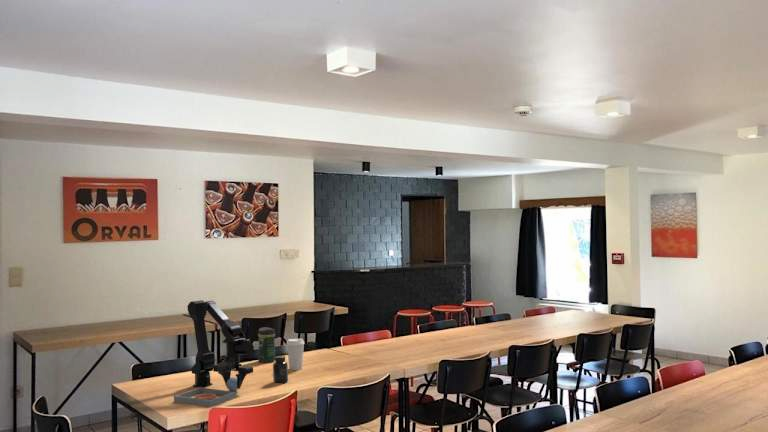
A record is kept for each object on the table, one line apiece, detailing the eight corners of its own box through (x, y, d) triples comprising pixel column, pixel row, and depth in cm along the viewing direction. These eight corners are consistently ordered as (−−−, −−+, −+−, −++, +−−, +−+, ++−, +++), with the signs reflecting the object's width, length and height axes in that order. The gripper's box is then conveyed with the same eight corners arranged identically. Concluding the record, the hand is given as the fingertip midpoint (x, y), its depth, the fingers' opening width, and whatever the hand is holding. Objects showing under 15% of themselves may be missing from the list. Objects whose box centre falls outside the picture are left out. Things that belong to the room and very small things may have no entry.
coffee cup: (301, 371, 327) (301, 341, 328) (283, 370, 329) (283, 341, 330) (307, 367, 337) (307, 338, 337) (290, 366, 339) (289, 338, 339)
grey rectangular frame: (173, 401, 272) (173, 396, 272) (200, 393, 286) (200, 387, 286) (210, 407, 263) (210, 400, 263) (236, 397, 277) (235, 391, 277)
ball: (223, 391, 288) (223, 378, 288) (232, 388, 293) (232, 375, 293) (234, 393, 285) (234, 379, 285) (242, 389, 291) (242, 376, 291)
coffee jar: (277, 361, 352) (277, 327, 353) (264, 363, 347) (264, 329, 348) (269, 359, 360) (268, 325, 360) (256, 360, 355) (255, 327, 355)
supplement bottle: (288, 380, 308) (288, 355, 308) (287, 383, 301) (286, 357, 301) (274, 380, 308) (274, 355, 308) (272, 384, 301) (271, 358, 301)
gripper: (204, 355, 287) (204, 390, 286) (237, 358, 278) (238, 394, 278) (221, 350, 296) (221, 384, 296) (253, 353, 288) (254, 388, 288)
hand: (233, 388), depth 289 cm, fingers closed on ball, 6 cm apart
